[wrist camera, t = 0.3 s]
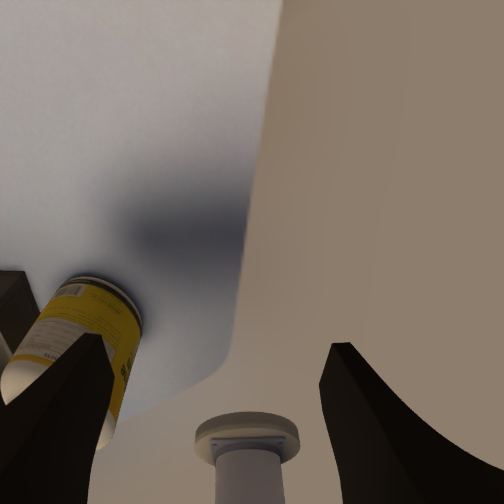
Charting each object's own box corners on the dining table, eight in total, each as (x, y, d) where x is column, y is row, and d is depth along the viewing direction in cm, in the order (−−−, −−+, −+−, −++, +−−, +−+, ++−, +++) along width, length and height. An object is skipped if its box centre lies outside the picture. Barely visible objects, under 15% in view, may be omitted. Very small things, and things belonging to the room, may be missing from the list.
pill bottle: (100, 357, 21) (55, 493, 11) (42, 295, 18) (-40, 426, 8) (164, 330, 20) (130, 499, 9) (101, 254, 17) (2, 418, 7)
